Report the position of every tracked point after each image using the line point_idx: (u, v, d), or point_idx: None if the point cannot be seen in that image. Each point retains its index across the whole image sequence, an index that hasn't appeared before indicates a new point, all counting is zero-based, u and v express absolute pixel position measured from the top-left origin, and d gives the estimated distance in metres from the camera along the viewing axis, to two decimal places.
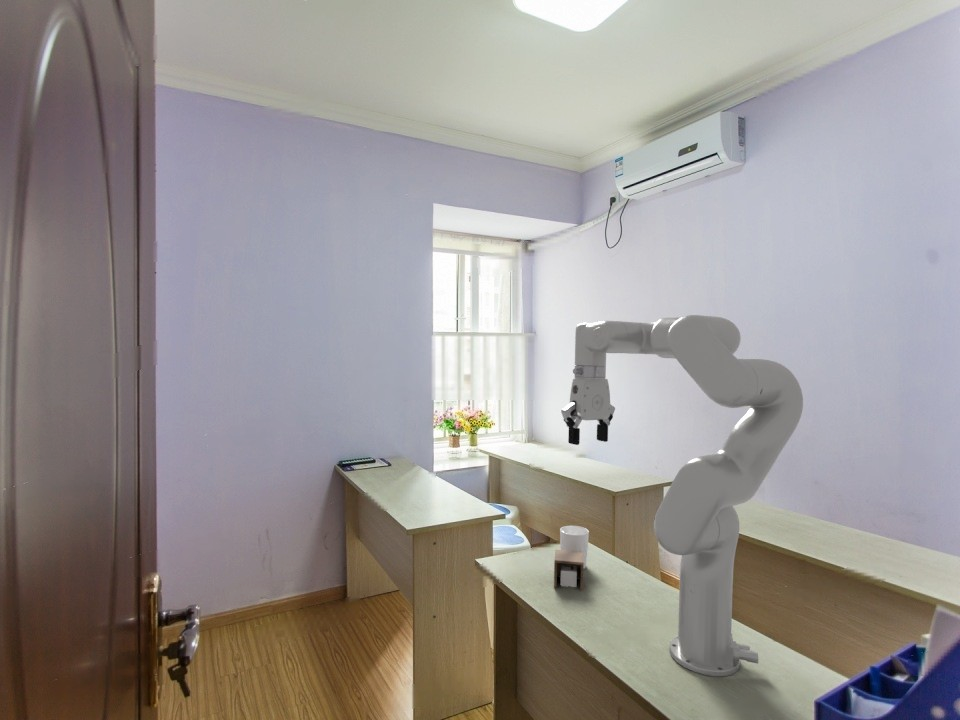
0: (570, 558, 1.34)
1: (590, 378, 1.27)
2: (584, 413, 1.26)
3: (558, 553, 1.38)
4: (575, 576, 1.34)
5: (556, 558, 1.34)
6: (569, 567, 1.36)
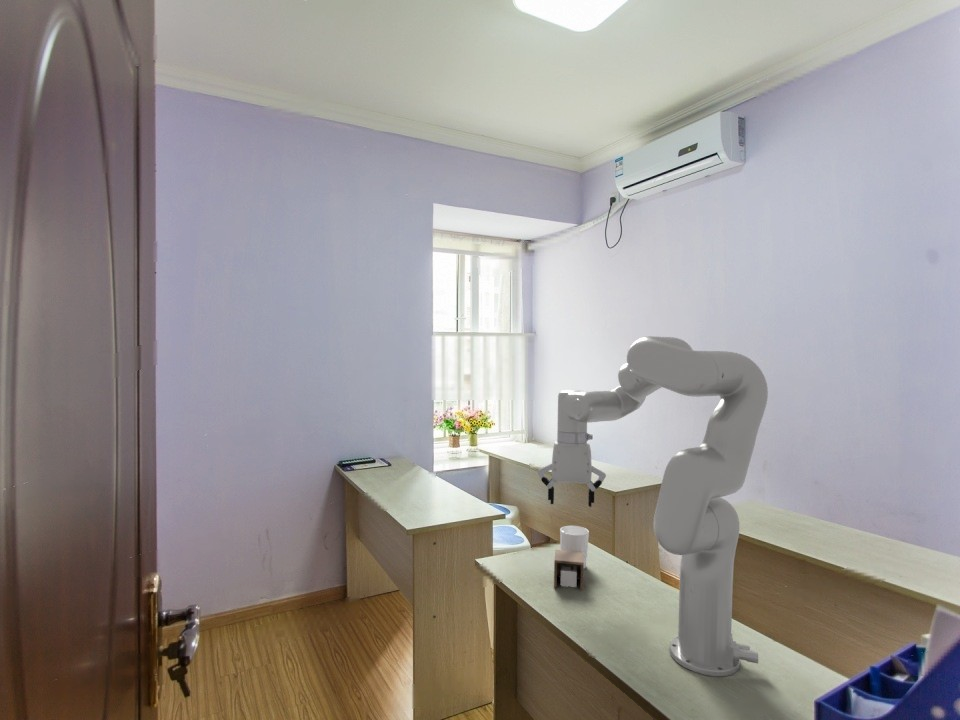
0: (570, 558, 1.34)
1: None
2: None
3: (558, 553, 1.38)
4: (575, 576, 1.34)
5: (556, 558, 1.34)
6: (569, 567, 1.36)
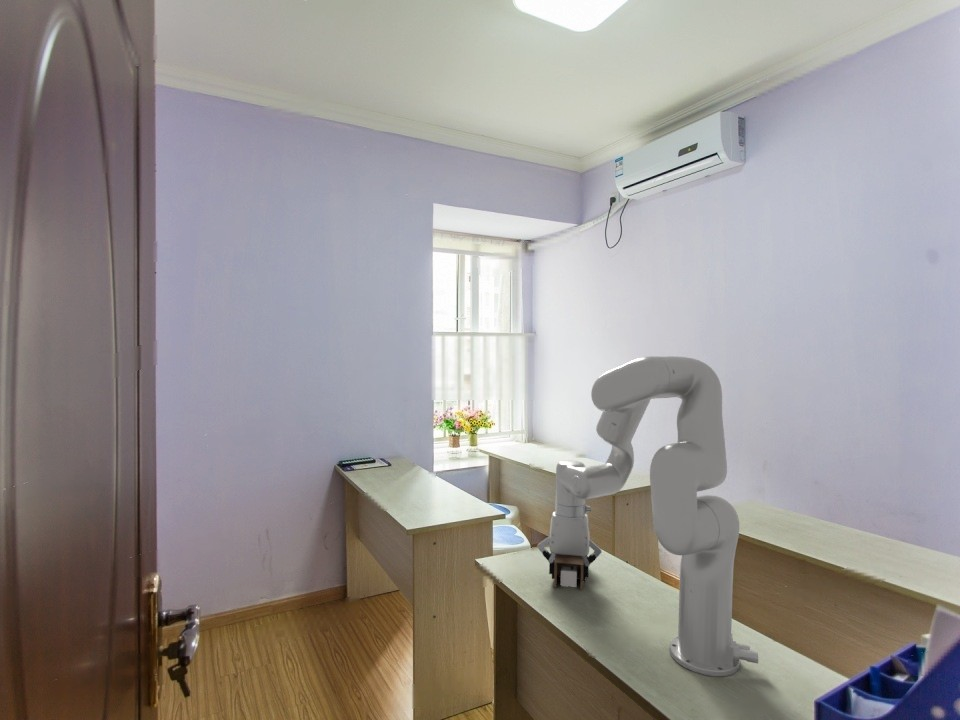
0: (570, 558, 1.34)
1: None
2: None
3: None
4: (575, 576, 1.34)
5: (556, 558, 1.34)
6: (569, 567, 1.36)
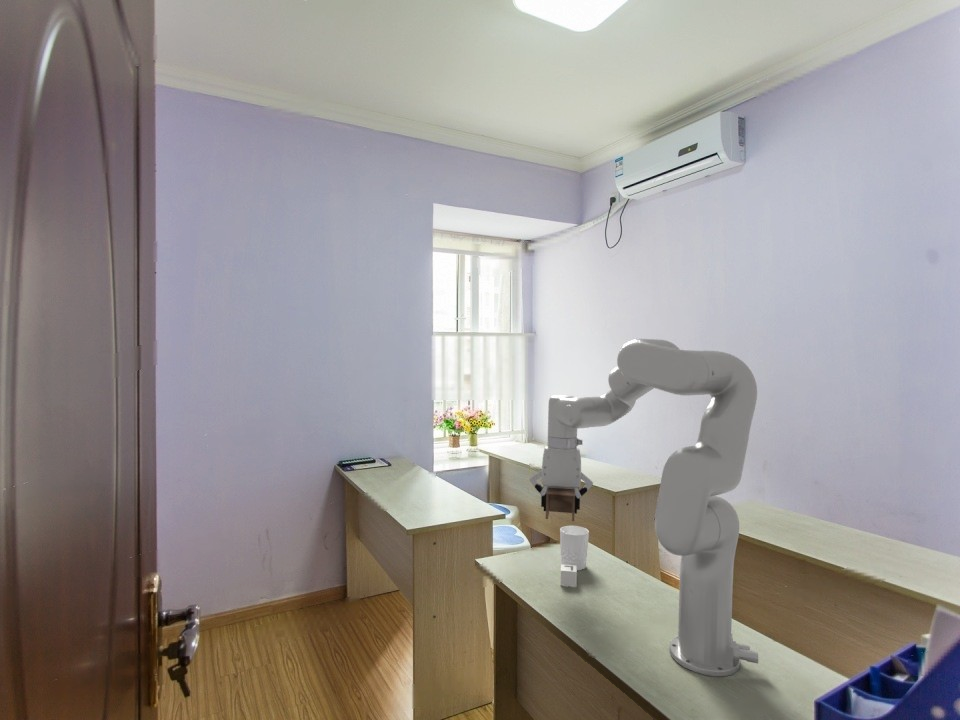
0: (562, 491, 1.36)
1: None
2: None
3: (550, 487, 1.39)
4: (575, 576, 1.34)
5: (548, 490, 1.36)
6: (569, 567, 1.36)
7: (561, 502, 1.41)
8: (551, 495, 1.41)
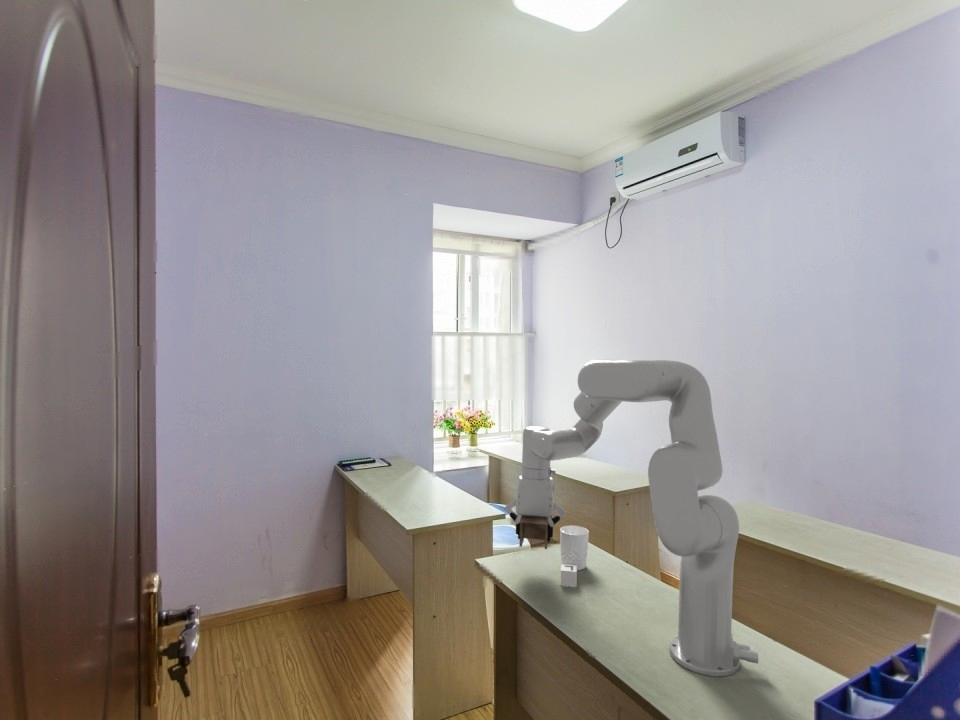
0: (535, 519, 1.40)
1: None
2: None
3: None
4: (575, 576, 1.34)
5: (522, 519, 1.40)
6: (569, 567, 1.36)
7: (535, 529, 1.45)
8: (526, 522, 1.46)
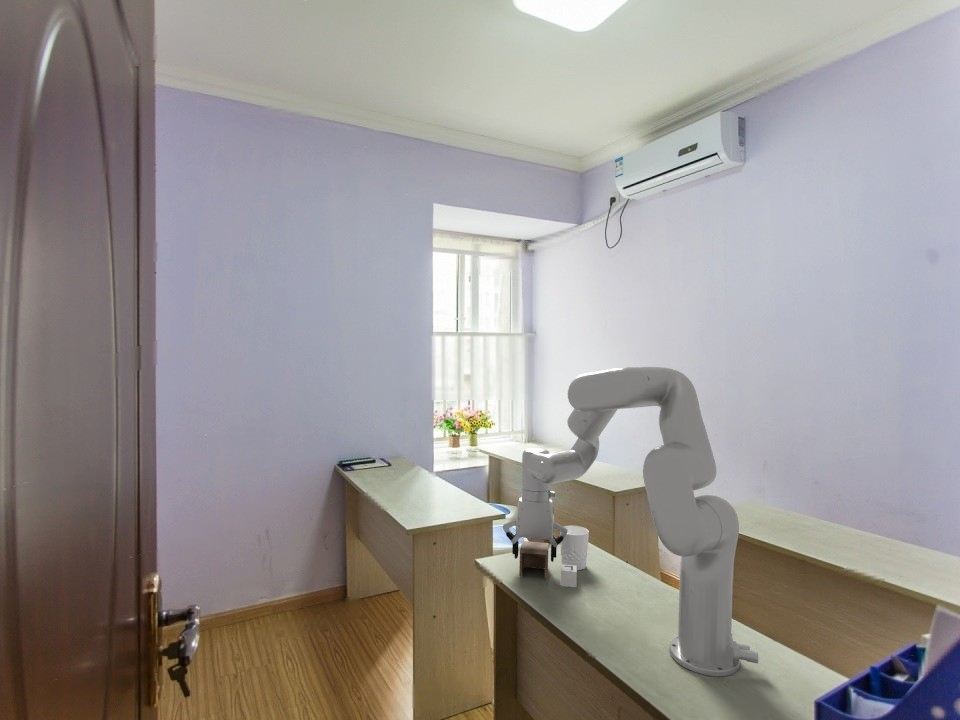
0: (535, 549, 1.40)
1: None
2: None
3: (524, 544, 1.44)
4: (575, 576, 1.34)
5: (522, 548, 1.40)
6: (569, 567, 1.36)
7: (535, 558, 1.45)
8: None
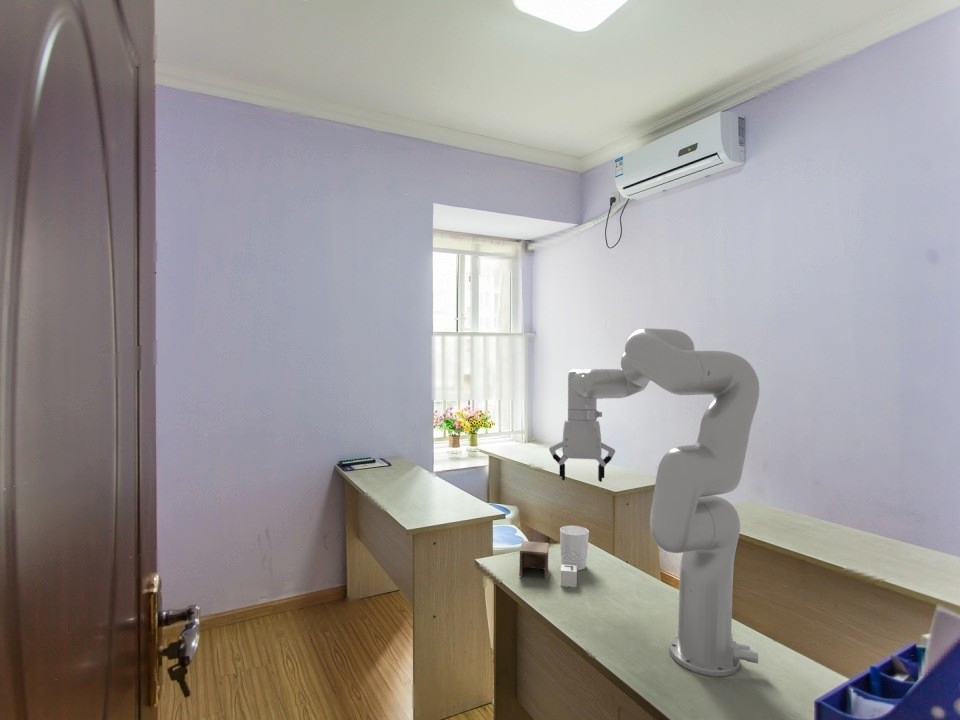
0: (535, 549, 1.40)
1: None
2: None
3: (524, 544, 1.44)
4: (575, 576, 1.34)
5: (522, 548, 1.40)
6: (569, 567, 1.36)
7: (535, 558, 1.45)
8: None
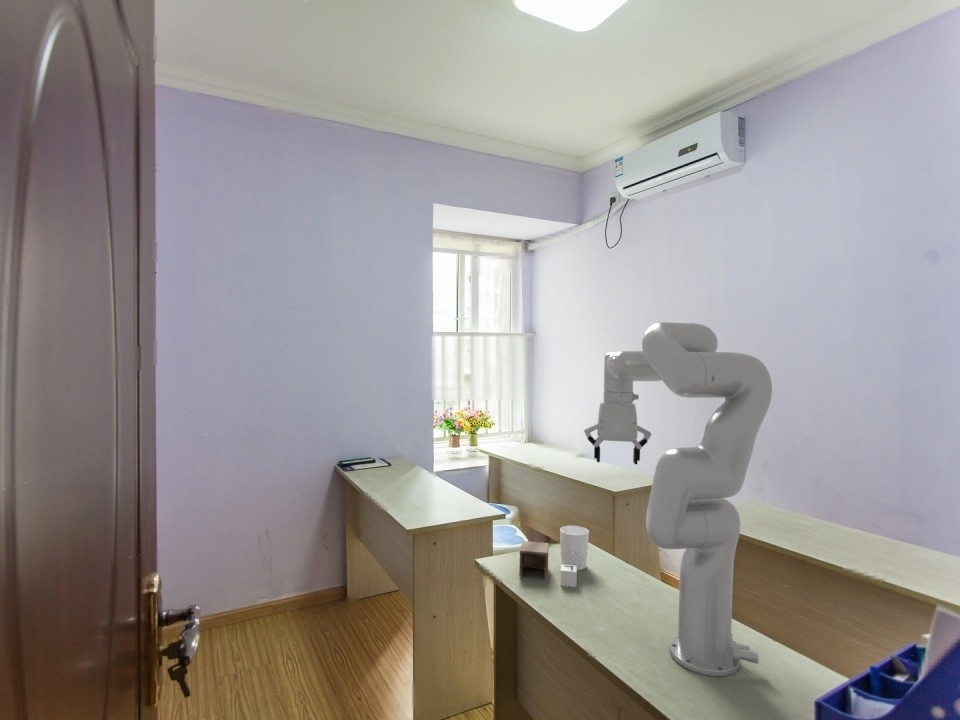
0: (535, 549, 1.40)
1: None
2: None
3: (524, 544, 1.44)
4: (575, 576, 1.34)
5: (522, 548, 1.40)
6: (569, 567, 1.36)
7: (535, 558, 1.45)
8: None
